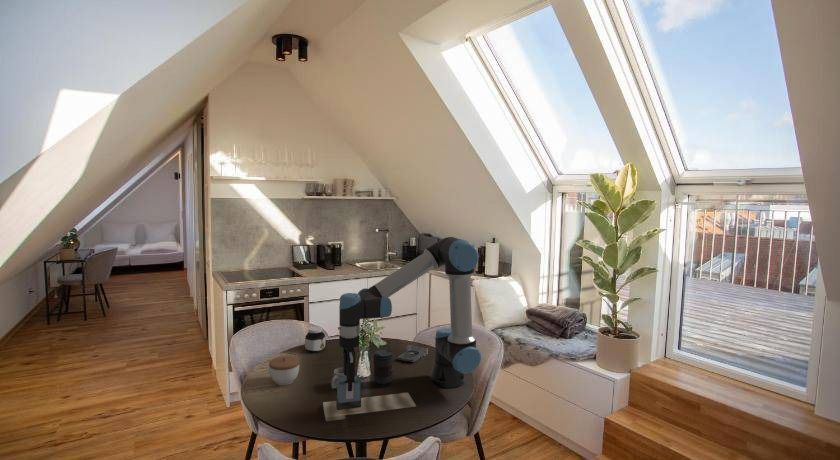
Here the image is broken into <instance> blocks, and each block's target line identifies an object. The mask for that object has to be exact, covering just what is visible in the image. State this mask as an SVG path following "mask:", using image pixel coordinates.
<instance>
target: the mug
mask: <svg viewBox="0 0 840 460" xmlns="http://www.w3.org/2000/svg"><path fill="white" fill-rule="evenodd" d="M344 376H345V375H344V371H343V367H338V368H335V369H334V370H333V377H332V378H331V381H330V382H331V389H332V390H334V389H336V390H337V377H344Z"/></svg>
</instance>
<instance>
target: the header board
mask: <svg viewBox="0 0 840 460" xmlns="http://www.w3.org/2000/svg"><path fill="white" fill-rule="evenodd" d="M413 407H414V408H415V407H417V405H416V403H415V402H414V400H413V398H412V397H411V395H410V394H409V392H400V393H394V394H393V393H391V394H384V395H375V396H365V397H360V401H353V402H344V403H338V399H337V398H336V399H335V400H330V401H323V402H322V409H323V415H324V419H325V421H326V422H333V421H340V420H347V417H346V416H351V415H358V414H366V413H367V414H368V413H374V412H375V413H376V412H384V411H390V410H397V409H398V410H399V409H407V408H413Z"/></svg>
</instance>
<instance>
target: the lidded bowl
mask: <svg viewBox="0 0 840 460" xmlns="http://www.w3.org/2000/svg"><path fill="white" fill-rule="evenodd" d="M300 361H301V360H300V359H299V357H296V356H292V355H283V356H278V357H275V358H272V359H270V360H269V362H268V366H269V367H268V368H269V375H270V378H271V379H272V381H274V382H275V384H276V385H278V386H287V385H290V384H292V383H294V381H295V380H296V379H297V377H298V376H299V371H300V364H301V363H300Z"/></svg>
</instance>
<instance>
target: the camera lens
mask: <svg viewBox="0 0 840 460" xmlns="http://www.w3.org/2000/svg"><path fill="white" fill-rule="evenodd" d="M393 364H394V354H393V352H392V350H388V349H380V350H379V349H378V350H376V351H375V352H374V354H373V366H374V367H373V382H374V383H373V384H374V386H376V387H380V388H385V387H390V386H392V384H393V372H394V367H393Z"/></svg>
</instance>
